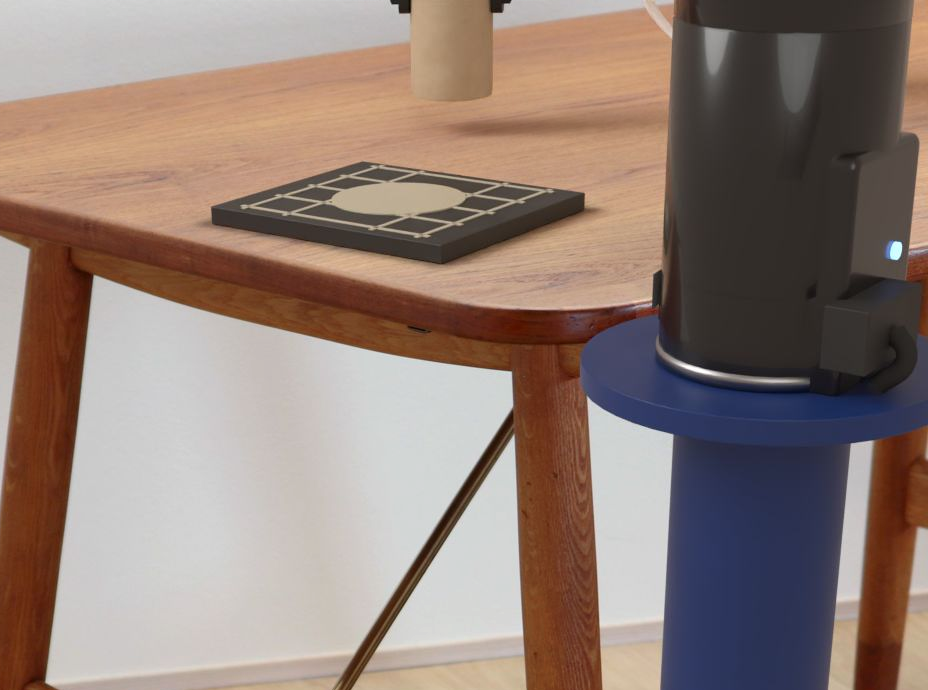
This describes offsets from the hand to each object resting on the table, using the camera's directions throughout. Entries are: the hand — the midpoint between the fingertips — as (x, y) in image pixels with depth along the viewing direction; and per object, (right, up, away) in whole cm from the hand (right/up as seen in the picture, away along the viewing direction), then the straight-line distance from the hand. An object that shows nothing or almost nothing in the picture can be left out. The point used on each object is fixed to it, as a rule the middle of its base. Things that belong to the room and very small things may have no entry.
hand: (451, 10), depth 128 cm
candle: (0, -5, +2) cm, 6 cm away
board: (-4, -17, -19) cm, 26 cm away
